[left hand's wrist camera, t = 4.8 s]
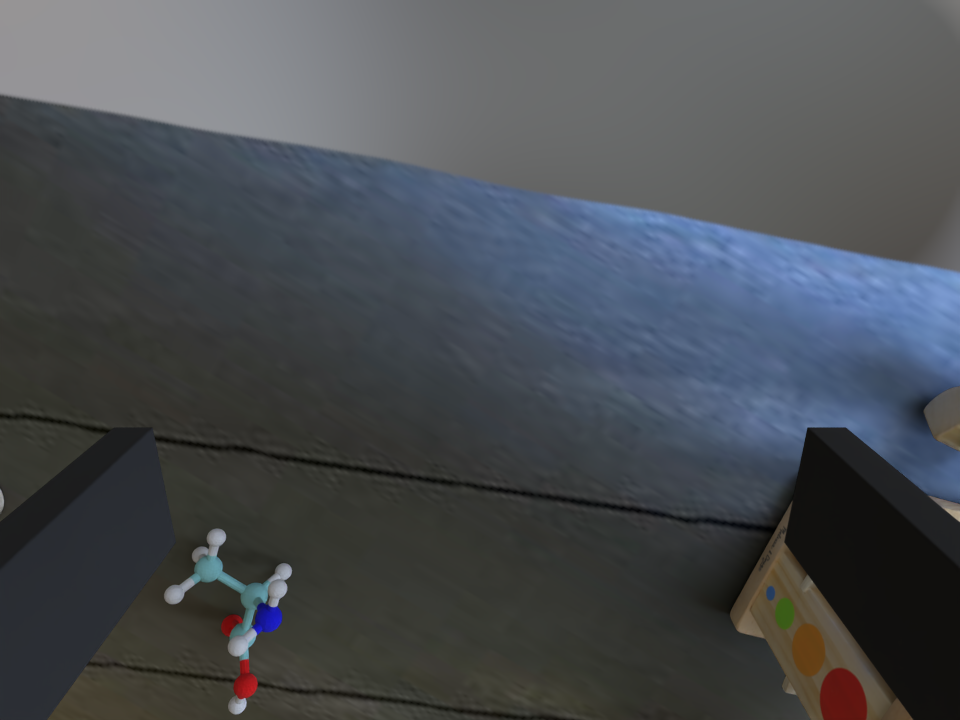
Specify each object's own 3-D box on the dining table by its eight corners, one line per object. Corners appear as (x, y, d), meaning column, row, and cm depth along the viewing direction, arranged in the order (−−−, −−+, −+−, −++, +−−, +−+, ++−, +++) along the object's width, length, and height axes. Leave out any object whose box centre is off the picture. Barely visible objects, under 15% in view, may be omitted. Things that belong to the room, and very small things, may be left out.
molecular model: (106, 587, 44) (125, 686, 36) (218, 490, 46) (259, 563, 39) (215, 658, 50) (251, 755, 42) (308, 570, 53) (358, 646, 45)
